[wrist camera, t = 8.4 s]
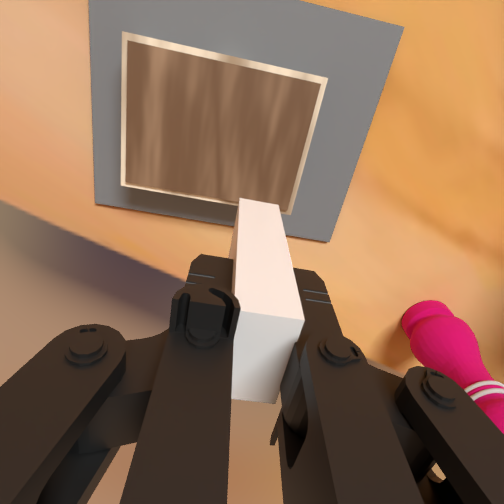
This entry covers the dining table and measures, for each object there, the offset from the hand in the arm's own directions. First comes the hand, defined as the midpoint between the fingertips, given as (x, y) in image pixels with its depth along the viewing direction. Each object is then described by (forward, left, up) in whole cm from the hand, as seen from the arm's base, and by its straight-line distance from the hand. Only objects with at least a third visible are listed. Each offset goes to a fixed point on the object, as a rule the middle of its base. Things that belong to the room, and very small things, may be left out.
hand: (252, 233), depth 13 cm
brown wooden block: (-6, 0, -20) cm, 21 cm away
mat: (+1, 0, -23) cm, 23 cm away
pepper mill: (-28, +19, -23) cm, 41 cm away
